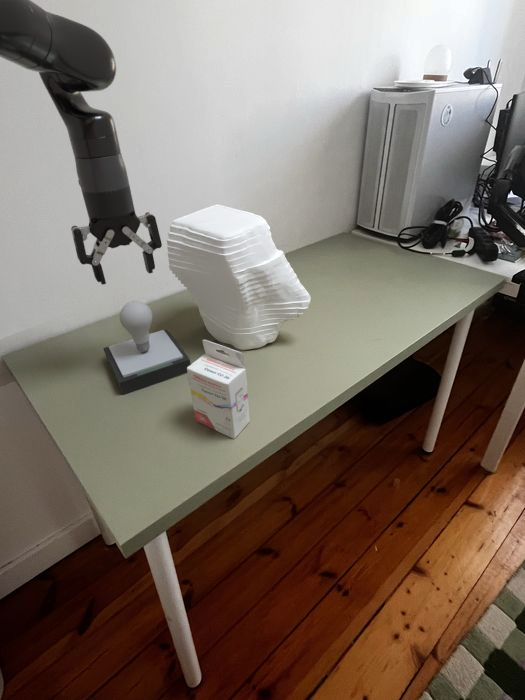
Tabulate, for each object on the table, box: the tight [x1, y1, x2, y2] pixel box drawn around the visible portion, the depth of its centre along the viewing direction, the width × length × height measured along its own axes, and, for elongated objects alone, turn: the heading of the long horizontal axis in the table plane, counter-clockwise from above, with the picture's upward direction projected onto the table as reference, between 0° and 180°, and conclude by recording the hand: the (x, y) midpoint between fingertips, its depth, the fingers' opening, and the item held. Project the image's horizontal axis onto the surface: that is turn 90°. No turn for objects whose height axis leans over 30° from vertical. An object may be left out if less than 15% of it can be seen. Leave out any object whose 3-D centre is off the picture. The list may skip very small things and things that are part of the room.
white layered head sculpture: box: [166, 203, 312, 351], centre depth 91 cm, size 21×27×26 cm
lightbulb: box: [119, 300, 153, 352], centre depth 85 cm, size 6×6×11 cm
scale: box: [102, 328, 192, 396], centre depth 89 cm, size 14×14×4 cm
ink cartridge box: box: [187, 339, 251, 440], centre depth 70 cm, size 9×5×15 cm, turn 58°
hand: (127, 277), depth 79 cm, fingers open, 8 cm apart
